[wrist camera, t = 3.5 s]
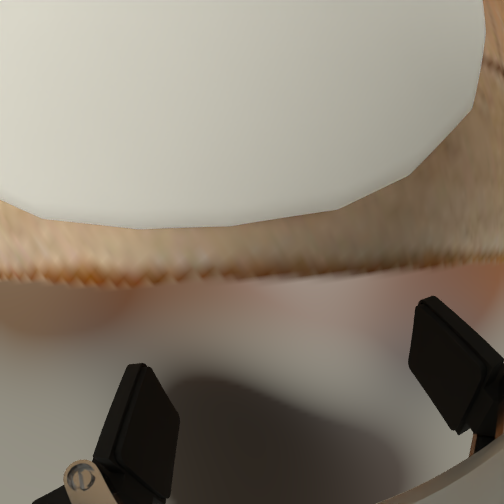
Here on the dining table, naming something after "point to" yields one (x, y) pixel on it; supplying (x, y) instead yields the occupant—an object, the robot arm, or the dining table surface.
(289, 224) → the dining table surface
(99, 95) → the plate
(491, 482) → the robot arm
